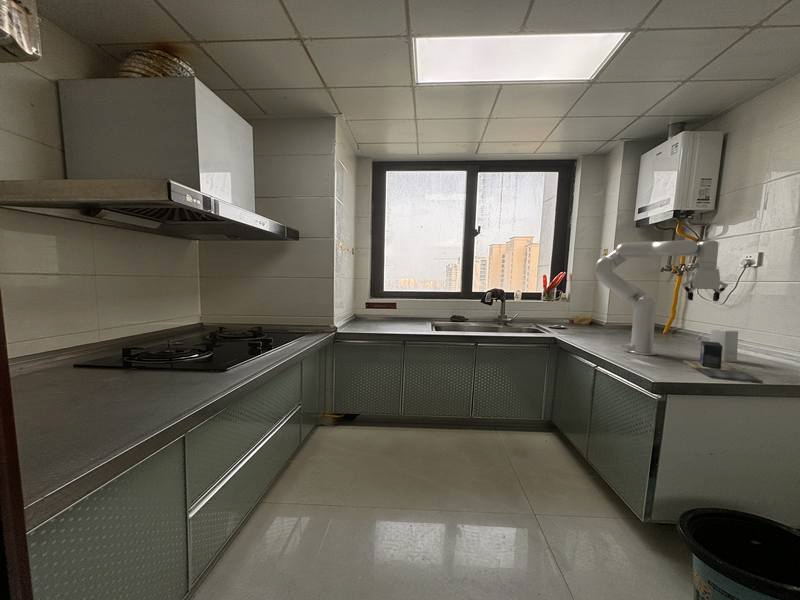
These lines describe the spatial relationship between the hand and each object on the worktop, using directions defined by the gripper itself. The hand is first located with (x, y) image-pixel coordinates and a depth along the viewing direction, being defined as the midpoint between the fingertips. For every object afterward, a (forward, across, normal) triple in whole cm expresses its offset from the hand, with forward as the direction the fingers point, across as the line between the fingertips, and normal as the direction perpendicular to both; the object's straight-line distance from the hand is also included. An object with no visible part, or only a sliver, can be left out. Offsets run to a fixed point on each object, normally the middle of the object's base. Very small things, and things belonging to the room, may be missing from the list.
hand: (702, 300), depth 158 cm
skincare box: (+31, +12, +6) cm, 33 cm away
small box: (+29, -1, -15) cm, 33 cm away
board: (+30, -1, -22) cm, 37 cm away
